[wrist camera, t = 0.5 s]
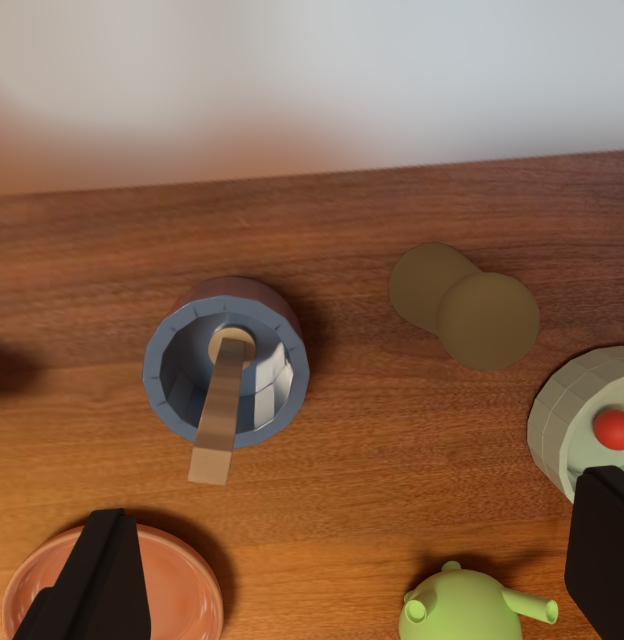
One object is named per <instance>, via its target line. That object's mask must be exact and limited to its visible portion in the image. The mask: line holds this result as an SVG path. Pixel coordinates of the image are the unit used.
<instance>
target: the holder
mask: <svg viewBox="0 0 624 640" xmlns="http://www.w3.org/2000/svg"><path fill="white" fill-rule="evenodd" d="M233 324H234V325H239V326H242V327H244V328H246V329H247V330H249V331H250V332H251V334H252V335H253V337H254V339H255V342H256V354H255V358H254V360H253V362H252V363H251V364H250V365H249V366H248V367H247V368H245V369H244V370H242V379H241V387H240V396H239V405H238V413H237V422H236V430H235V439H234V448H233V449H238V448H243V447H247V446H252V445H257V444H260V443H262V442H264V441H265V440H267V439H268V438H270V437H272V436H273V435H275V434H276V433H278V432H279V431H281V430H283V429H284V428H285V427H287V426H288V424H289V423H290V422H291V420H292V419H293V417H294V416H295V415H296V413H297V412H298V411H299V409H300V408H301V406H302V405H303V402H304V400H305V395H306V391H307V386H308V382H309V377H310V370H309V365H308V360H307V355H306V350H305V345H304V341H303V337H302V333H301V328H300V324H299V320H298V318H297V317H296V316H295V313H294V312H293V310H292V308H291V307H290V305H289V304H288V303H287V302H286V300H285V299H284V298H283V297H282V296H281V295H280V294H279V293H277V292H276V291H275V290H273V289H272V288H270V287H268V286H267V285H265V284H263V283H261V282H258V281H256V280H252V279H248V278H244V277H236V276H235V277H219V278H214V279H211V280H207V281H205V282H203V283H200V284H198V285H196V286H195V287H193V288H191V289H190V290H189V291H187V292H186V293H185V294H184V295H183V296H181V297H180V298H179V299H178V300H177V301H176V302H175V304H174V305H173V307H172V308H171V309H170V311H169V312H168V313H167V315H166V316H165V318H164V319H163V320H162V322H161V324H160V325H159V327H158V328H157V330H156V331H155V333H154V335H153V336H152V338H151V339H150V341H149V343H148V344H147V346H146V349H145V356H144V364H143V372H142V381H143V384H144V388H145V391H146V394H147V397H148V401H149V404H150V407H151V408H152V410H153V411H154V412H155V413H156V414H157V415H158V417H159V418H160V419H161V420H162V421H163V422H164V424H165V425H166V426H167V427H168V428H169V430H170V431H172V432H174V433H176V434H177V435H179V436H181V437H183V438H185V439H187V440H189V441H191V442H192V443H194V441H195V437H196V434H197V430H198V426H199V422H200V419H201V415H202V411H203V407H204V404H205V400H206V396H207V392H208V389H209V385H210V381H211V377H212V374H213V370H214V366H215V365H214V364H213V363H212V361H211V359H210V357H209V354H208V345H209V342H210V339H211V337H212V335H213V334H214V332H215V331H216V330H218V329H219V328H221V327H223V326H225V325H233Z"/></svg>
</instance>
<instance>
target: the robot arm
mask: <svg viewBox="0 0 624 640" xmlns="http://www.w3.org/2000/svg"><path fill="white" fill-rule="evenodd" d="M564 580H565V585H566V588H567V591H568V593H569V595H570V596H571V598H572V599H573V600H574V602H575V603H576V604H577V606H578V607H579V609H580V610H581V611H582V613H583V614H584V615H585V617H586V618H587V619H588V621H589V622H590V623H591V625H592V626H593V627H594V629H595V630H596V632H597V633H598V634H599V636H600V637H601V638H602V640H624V471H623V470H622V469H620V468H619V467H617V466H615V465H607V466H596V467H588V468H585V470H584V471H583V474H582V475H580V476H578V478H577V480H576V487H575V495H574V503H573V511H572V519H571V527H570V535H569V543H568V551H567V559H566V567H565V575H564ZM150 638H151V617H150V610H149V604H148V597H147V591H146V584H145V578H144V571H143V565H142V558H141V552H140V545H139V539H138V533H137V526H136V520H135V517H134V515H126V512H125V510H124V509H123V508H118V509H107V510H96V511H93V512H92V513H91V514H90V516H89V518H88V520H87V522H86V524H85V526H84V528H83V530H82V532H81V534H80V536H79V538H78V539H77V541H76V543H75V545H74V547H73V549H72V551H71V553H70V555H69V557H68V559H67V561H66V563H65V565H64V567H63V569H62V571H61V572H60V574H59V576H58V578H57V580H56V582H55V584H54V586H53V587H44V588H43V589H42V590H40V591H39V593H38V594H37V595H36V597H35V598H34V600H33V602H32V604H31V606H30V608H29V609H28V611H27V613H26V615H25V617H24V619H23V620H22V622H21V624H20V626H19V628H18V630H17V631H16V633H15V635H14V637H13V639H12V640H150Z"/></svg>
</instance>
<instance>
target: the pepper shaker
mask: <svg viewBox="0 0 624 640" xmlns="http://www.w3.org/2000/svg"><path fill="white" fill-rule="evenodd" d="M389 296H390V300H391V303H392V306H393V307H394V309H395V310H396V311H397V313H398V314H399V316H401V317H402V318H403V319H405V320H406V321H408V322H409V323H411V324H413V325H415V326H417V327H419V328H421V329H423V330H426V331H428V332H430V333H432V334H434V335H436V336H438V337H439V339H440V343H441V344H442V345H443V347H444V348H445V350H446V351H447V353H448V354H449V355H450V356H451V357H452V358H453V359H455V360H456V361H458V362H459V363H461V364H462V365H463V366H466V367H470V368H473V369H477V370H481V371H492V370H499V369H502V368H505V367H507V366H510V365H512V364H514V363H515V362H517V361H518V360H520V359H521V358H523V357H524V356H525V355H526V354H527V352H528V351H529V350H530V349H531V347H532V346H533V344H534V342H535V340H536V337H537V335H538V331H539V323H540V314H539V309H538V304H537V302H536V300H535V299H534V297H533V295H532V294H531V292H530V291H529V290H528V288H527V287H526V286H524V285H523V284H522V283H520V282H519V281H518V280H516V279H515V278H512V277H510V276H506V275H503V274H500V273H497V272H483V271H481V270H480V269H479V268H478V267H477V266H475V265H474V264H473V263H472V262H471V261H469V260H468V259H467V258H466V257H465V256H464V255H462V254H461V253H460V252H458V251H457V250H456V249H454V248H453V247H452V246H448V245H445V244H442V243H425V244H422V245H419V246H416V247H413V248H412V249H411V250H409V251H408V252H407V253H405V254H404V255H403V256H402V257H401V258H400V259H399V261H398V262H397V263H396V265H395V266H394V268H393V270H392V273H391V276H390V279H389Z"/></svg>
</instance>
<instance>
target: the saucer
mask: <svg viewBox="0 0 624 640" xmlns="http://www.w3.org/2000/svg"><path fill="white" fill-rule="evenodd" d="M84 526H85V525H83V526H80V527H76V528H73V529H70V530H67V531H65V532H63V533H60V534H58V535H56V536H54V537H53V538H51V539H49V540H48V541H46V542H45V543H43V544H42V545H40V546H39V547H38V548H37V549H36V550H34V551H33V552H32V553H31V554H30V555H29V556H28V557H27V559H26V560H25V561H24V562H23V563H22V564H21V565H20V566H19V567H18V569H17V570H16V572H15V573H14V574H13V576H12V578H11V579H10V581H9V583H8V585H7V588H6V590H5V593H4V597H3V601H2V608H1V621H2V628H3V632H4V636H5V639H6V640H12V639H13V637H14V635H15V633H16V631H17V630H18V628H19V626H20V624H21V622H22V620H23V619H24V617H25V615H26V613H27V611H28V609H29V608H30V606H31V604H32V602H33V600H34V598H35V597H36V595H37V594H38V593H39V591H40V590H42V589H43V588H44V587H53V586H54V584H55V582H56V580H57V578H58V576H59V574H60V572H61V571H62V569H63V567H64V565H65V563H66V561H67V559H68V557H69V555H70V553H71V551H72V549H73V547H74V545H75V543H76V541H77V539H78V538H79V536H80V534H81V532H82V530H83V528H84ZM136 526H137V533H138V539H139V545H140V552H141V558H142V565H143V571H144V578H145V584H146V591H147V597H148V604H149V610H150V617H151V638H150V640H219V639H220V636H221V633H222V628H223V620H224V610H223V599H222V594H221V590H220V587H219V584H218V581H217V579H216V577H215V575H214V573H213V571H212V570H211V568H210V566H209V565H208V564H207V562H206V561H205V560H204V559H203V558H202V556H201V555H200V554H199V553H198V552H196V551H195V550H194V549H193V548H192V547H191V546H189V545H188V544H187V543H185V542H184V541H182V540H180V539H179V538H177V537H175V536H173V535H171V534H169V533H167V532H165V531H162V530H159V529H157V528H153V527H150V526H146V525H141V524H136Z"/></svg>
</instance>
